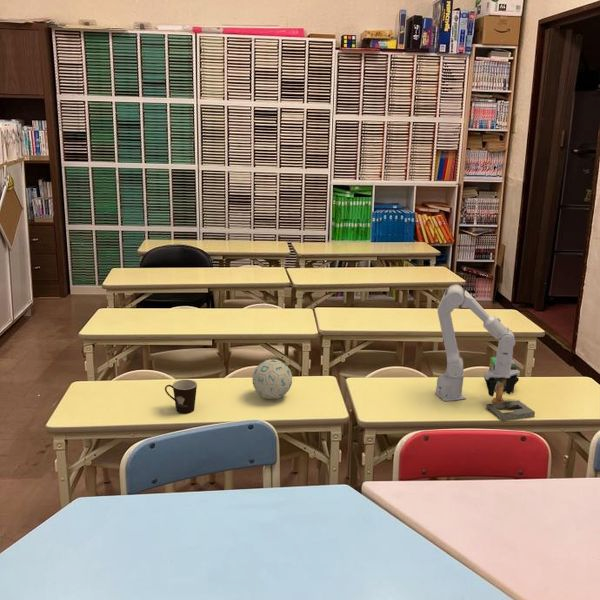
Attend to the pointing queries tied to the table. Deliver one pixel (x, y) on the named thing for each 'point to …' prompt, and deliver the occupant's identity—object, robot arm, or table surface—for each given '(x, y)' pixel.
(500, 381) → the chalk box
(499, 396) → the peg
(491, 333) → the robot arm
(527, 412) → the keyhole plate
